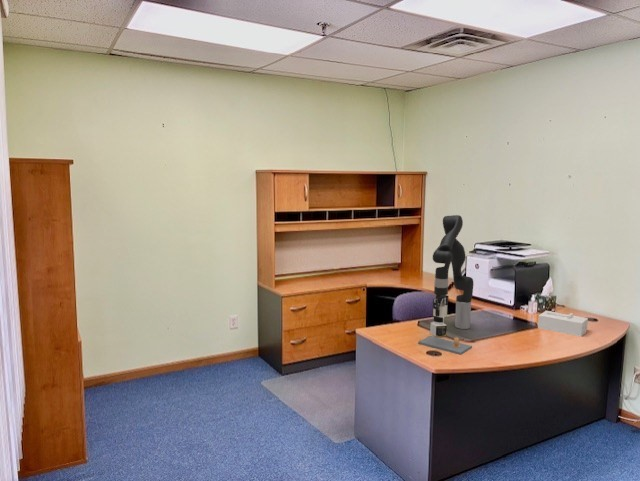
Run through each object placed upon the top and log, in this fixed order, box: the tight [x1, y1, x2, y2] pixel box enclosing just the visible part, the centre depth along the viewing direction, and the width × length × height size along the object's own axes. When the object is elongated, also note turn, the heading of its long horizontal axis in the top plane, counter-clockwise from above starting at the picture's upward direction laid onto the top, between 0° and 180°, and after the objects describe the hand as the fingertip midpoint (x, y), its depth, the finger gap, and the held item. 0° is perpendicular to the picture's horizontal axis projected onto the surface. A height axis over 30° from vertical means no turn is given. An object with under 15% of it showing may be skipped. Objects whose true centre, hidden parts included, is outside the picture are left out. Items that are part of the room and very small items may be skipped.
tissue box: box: [537, 310, 589, 337], centre depth 302 cm, size 14×25×11 cm, turn 49°
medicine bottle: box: [429, 316, 448, 338], centre depth 289 cm, size 7×7×12 cm
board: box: [417, 335, 473, 355], centre depth 271 cm, size 14×26×6 cm, turn 48°
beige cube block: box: [432, 304, 448, 318], centre depth 271 cm, size 6×6×6 cm
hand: (440, 314), depth 271 cm, fingers closed on beige cube block, 5 cm apart
